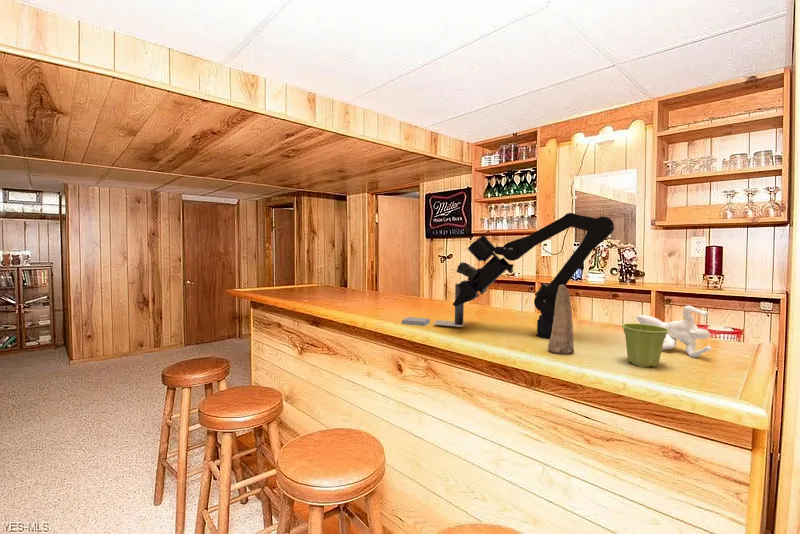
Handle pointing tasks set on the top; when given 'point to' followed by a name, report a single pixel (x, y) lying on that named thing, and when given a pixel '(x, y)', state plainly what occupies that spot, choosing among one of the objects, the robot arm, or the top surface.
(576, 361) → the top surface
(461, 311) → the upright dark post
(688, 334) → the person figurine
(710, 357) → the top surface
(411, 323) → the tile
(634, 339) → the plant pot
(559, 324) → the stone cone
